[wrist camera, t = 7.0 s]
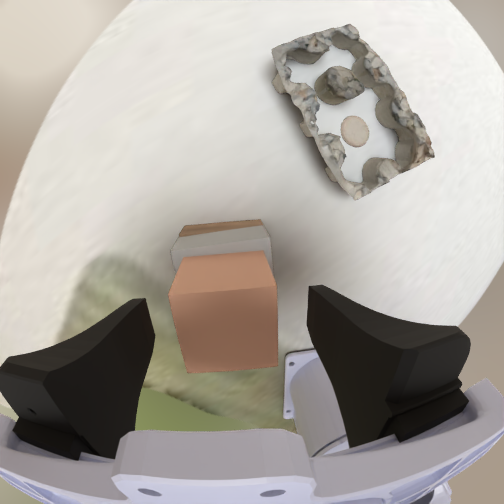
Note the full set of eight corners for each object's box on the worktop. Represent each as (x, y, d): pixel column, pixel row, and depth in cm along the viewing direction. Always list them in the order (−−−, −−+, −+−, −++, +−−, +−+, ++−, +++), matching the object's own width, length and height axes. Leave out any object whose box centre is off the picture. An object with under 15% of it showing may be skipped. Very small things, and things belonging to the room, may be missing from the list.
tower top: (271, 300, 18) (278, 321, 15) (194, 310, 17) (191, 333, 15) (263, 225, 16) (270, 237, 13) (178, 237, 16) (170, 251, 13)
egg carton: (406, 159, 18) (441, 163, 14) (328, 201, 18) (354, 213, 14) (345, 34, 14) (370, 13, 10) (255, 64, 15) (263, 41, 11)
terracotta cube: (266, 318, 15) (278, 366, 11) (195, 324, 15) (187, 373, 11) (263, 250, 14) (276, 285, 10) (183, 257, 13) (167, 294, 10)
